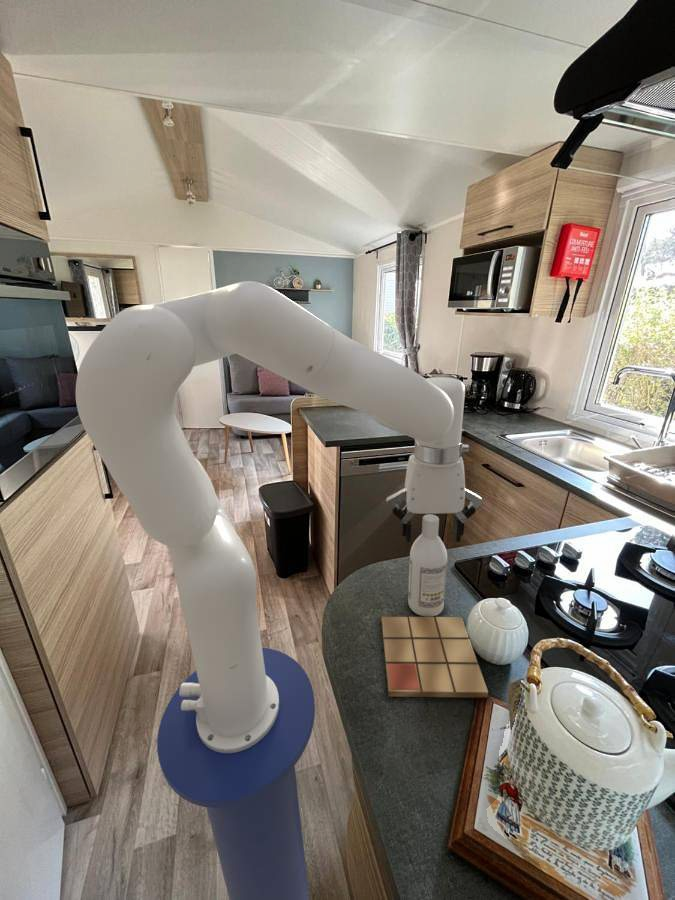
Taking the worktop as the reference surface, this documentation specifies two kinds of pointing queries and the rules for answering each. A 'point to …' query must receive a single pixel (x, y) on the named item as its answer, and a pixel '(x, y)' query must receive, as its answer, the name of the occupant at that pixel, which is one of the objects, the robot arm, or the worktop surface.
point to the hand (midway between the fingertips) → (431, 537)
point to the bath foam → (427, 570)
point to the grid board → (430, 658)
